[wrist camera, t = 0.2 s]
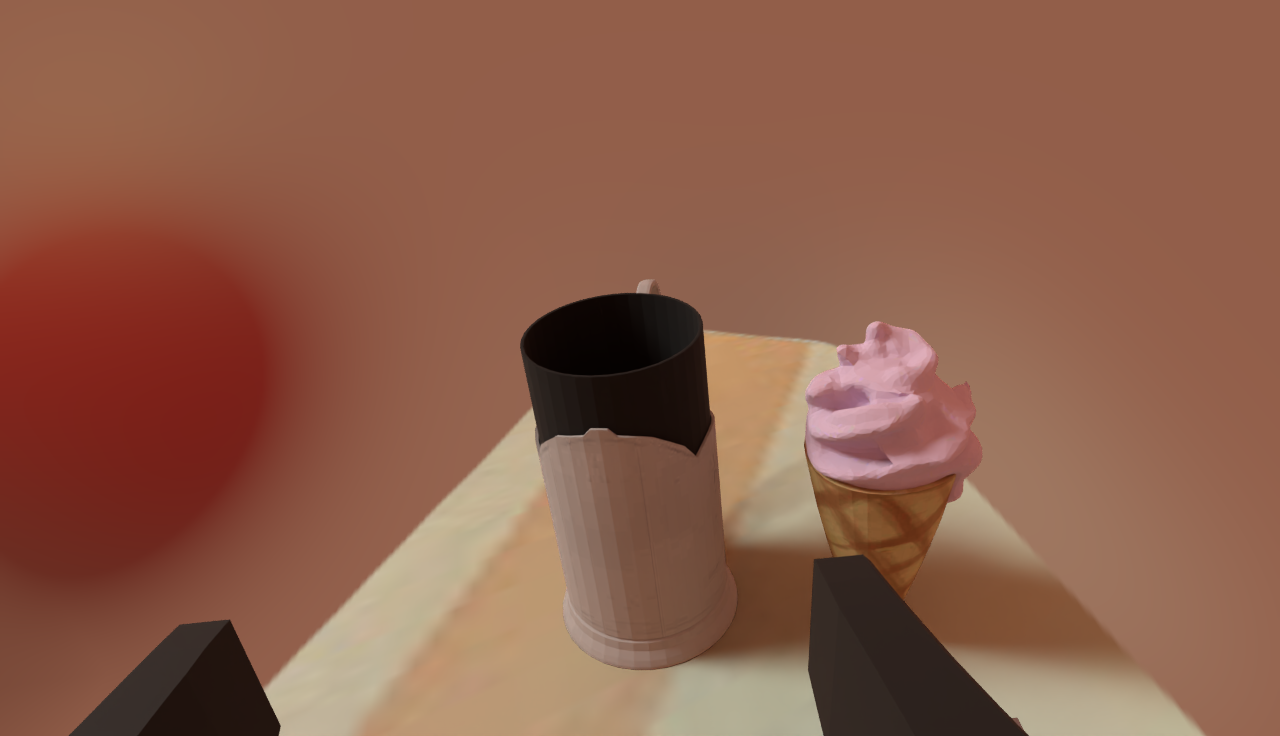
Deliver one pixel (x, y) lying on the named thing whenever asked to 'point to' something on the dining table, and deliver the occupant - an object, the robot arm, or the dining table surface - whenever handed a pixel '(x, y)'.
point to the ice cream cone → (887, 450)
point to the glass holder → (632, 476)
